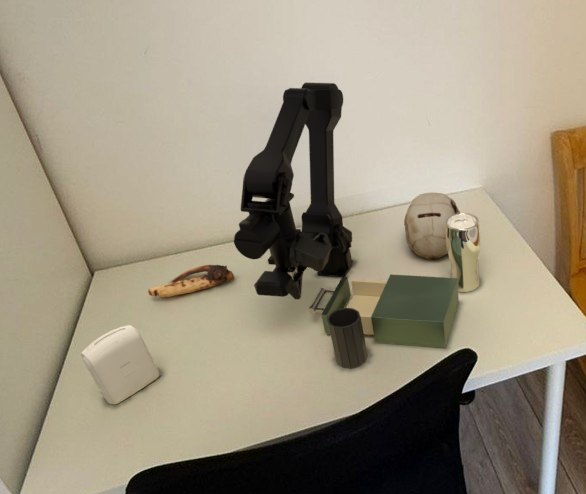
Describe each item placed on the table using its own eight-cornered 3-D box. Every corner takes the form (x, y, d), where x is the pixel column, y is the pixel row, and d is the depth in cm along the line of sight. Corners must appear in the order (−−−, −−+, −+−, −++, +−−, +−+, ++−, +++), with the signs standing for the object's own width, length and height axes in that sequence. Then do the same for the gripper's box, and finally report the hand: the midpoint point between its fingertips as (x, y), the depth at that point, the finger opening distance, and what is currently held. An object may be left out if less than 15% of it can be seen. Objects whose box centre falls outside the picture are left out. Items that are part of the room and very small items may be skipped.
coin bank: (441, 217, 156) (439, 169, 146) (482, 252, 145) (483, 203, 136) (386, 240, 150) (380, 191, 141) (424, 278, 140) (421, 229, 130)
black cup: (332, 366, 116) (322, 326, 110) (342, 346, 120) (333, 306, 114) (362, 369, 115) (354, 328, 109) (371, 349, 119) (363, 308, 113)
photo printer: (113, 409, 112) (84, 356, 104) (101, 398, 114) (71, 346, 106) (164, 376, 117) (140, 324, 110) (152, 367, 120) (127, 315, 112)
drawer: (305, 332, 123) (300, 313, 120) (327, 293, 133) (323, 275, 130) (388, 338, 120) (385, 319, 117) (404, 298, 130) (402, 279, 127)
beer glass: (479, 294, 130) (476, 230, 121) (445, 292, 131) (441, 229, 122) (483, 275, 135) (481, 212, 126) (451, 274, 137) (447, 211, 127)
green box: (375, 342, 121) (370, 317, 117) (393, 299, 131) (390, 274, 127) (445, 348, 118) (443, 322, 114) (458, 303, 128) (457, 278, 124)
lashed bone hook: (232, 267, 146) (151, 286, 142) (227, 249, 143) (144, 268, 139) (237, 287, 139) (151, 307, 135) (231, 268, 136) (144, 288, 132)
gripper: (302, 259, 108) (319, 330, 118) (337, 207, 122) (350, 275, 132) (243, 256, 111) (264, 326, 121) (284, 205, 125) (300, 271, 135)
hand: (297, 298), depth 127 cm, fingers closed
